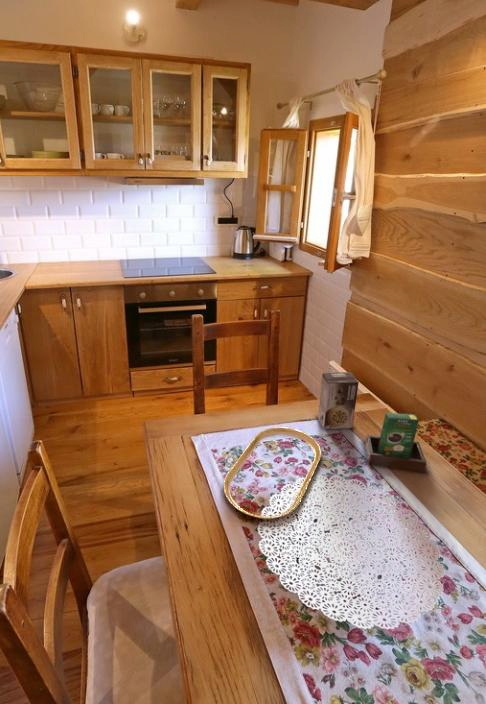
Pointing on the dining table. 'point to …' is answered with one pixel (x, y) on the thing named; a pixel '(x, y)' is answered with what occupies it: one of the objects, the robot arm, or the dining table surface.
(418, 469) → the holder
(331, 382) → the coffee box
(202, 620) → the dining table surface
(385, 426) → the coffee box
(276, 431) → the oval frame
